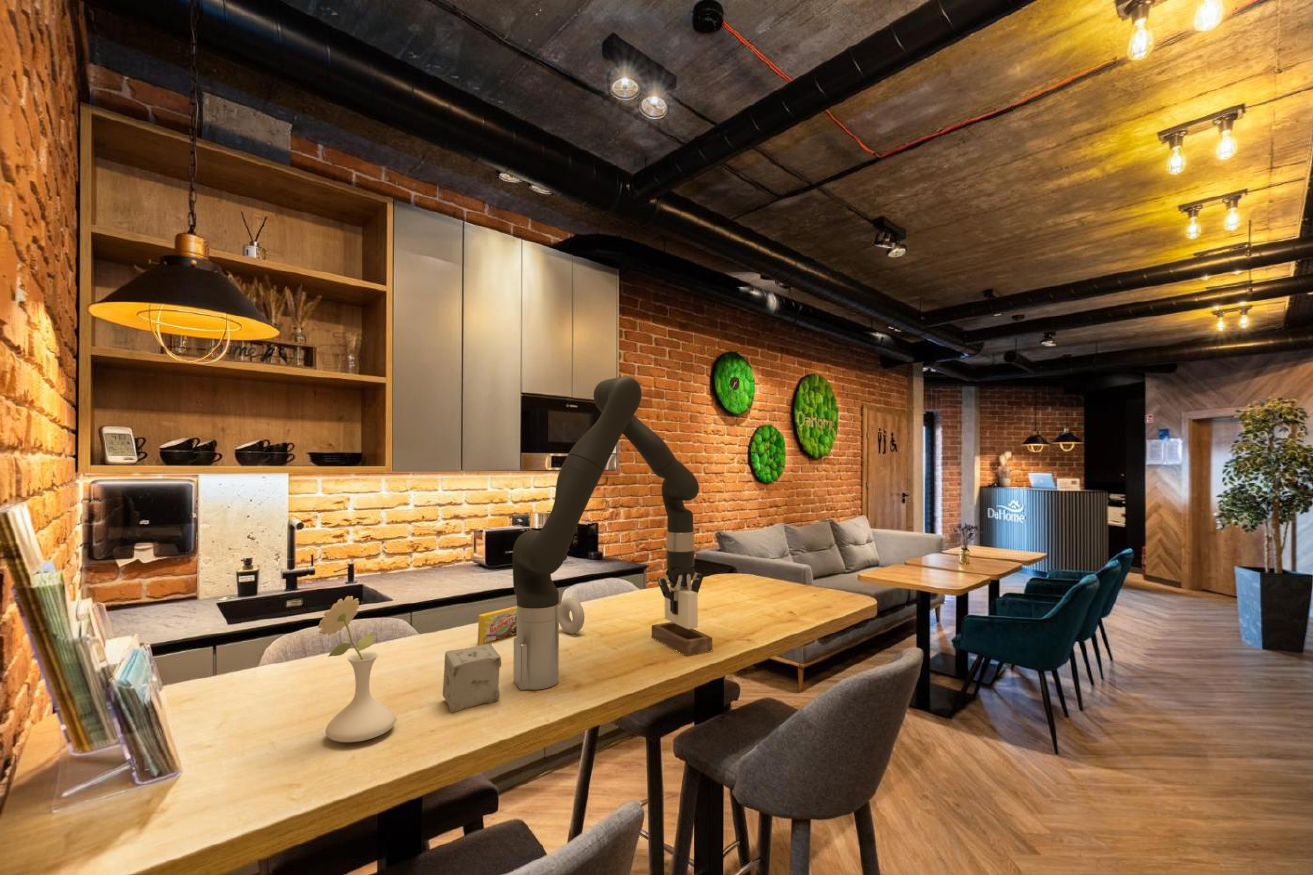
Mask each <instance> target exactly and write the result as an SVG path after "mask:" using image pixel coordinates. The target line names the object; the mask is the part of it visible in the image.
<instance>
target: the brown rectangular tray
mask: <svg viewBox="0 0 1313 875" xmlns="http://www.w3.org/2000/svg"><path fill="white" fill-rule="evenodd" d="M653 638H654V639H653ZM651 639H653V640H655V639H656V640H655V641H657V640H658V641H659V642H658V641H657V642H658V643H660V642H661V643H660V644H662V643H663V644H662V645H664V644H665V645H664V646H666V645H667V646H666V647H667V648H670V649H671V648H672V650H673V649H675V650H677V651H678V652H677V651H676V652H677V653H679V652H680V653H679V654H681V653H682V654H681V655H683V654H684V655H685V656H684V655H683V656H684V657H689V656H688V655H691V656H694V655H693V654H696V655H699V654H698V653H701V654H703V653H702V652H706V651H711V650H712V651H713V637H712V636H710V635H707V634H705V633H704V632H700V631H699V630H696V629H695V628H693V629H686V628H684V627H682V626H679V625H677V624H675V623H673V622H671V621H669V622H663V623H657V624H656V623H655V624H651ZM675 650H674V651H675ZM706 653H707V652H706Z"/></svg>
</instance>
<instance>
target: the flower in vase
mask: <svg viewBox="0 0 1313 875" xmlns="http://www.w3.org/2000/svg"><path fill="white" fill-rule="evenodd" d="M359 604H360V601H359V598H354V596H353V595H351V596H350V595H347V596H346V597H344V600H343V599H342V598H340V599H338V600H337V602H336V603H333V605H332V606H331V608H330V609H329V610H325V612H324V613H323V616H324V617H323V618H322V619H320V621H319V624H318V626H317V628H318V629H320V630H319V632H318V634H321V635H323V636H325V635H327V636H331V635H335V634H336V633H338V632H339V631H341V630H343V629H344V627H346V630H347V633H348V637H349V640H350V642H343V643H340V644H338V645H337V646H335V647H334V648H333V649H332V650H331V652H330V653H329V654H328V655H327V656H328V657H340V656H343V655H344V654H345V653H347V651H349V649H350V648H351V647H352V648H353V649H354V650H355V652H356V653H353V654H351V655H349V656H348V657H347V661H348V662H349V663H350V665H351V666H352V668H353V672H354V673H353V674H354V678H355V679H354V680H355V689H354V696H353V699H352V700H351V701H350V702H349V703H348V704H347V705H346V706H345V707H344V708H343V709H342V710H340V711H339V712H338V713H337V714H336V715H335V716H334V717H333V718H332V719H331V720H330V722H328V724H327V726H326V728H325V735H326V736H327V738H329V739H330V740H332V741H334V742H339V743H357V742H364V741H368V740H371V739H374V738H376V737H379V736H381V735H383V734H385V733H387V732H389V731H390V730H391V729H392V728H393V727H394V725H395V723H396V722H397V717H396V714H395V712H394V711H393V710H391V708H389V707H388V706H386V705H385V704H383V703H381V702H379V701H378V700H376V699H374V697H372V695H371V693H370V678H371V672H372V668H373V665H374V663H375V661H376V659H378V657H379V653H378V652H375V651H363V650H365V649H367V648H369V647H371V646H372V645H373V644H374V641H375V632H374V631H372V632H371V633H369V634H367V635H366V636H364V637H363V638H361V639H359V640H358V642H357V643H356V644H355V643H354V641H353V638H352V634H351V630H350V628H349V624H350V623H351V621H352V620H353V619H354V618H355V616H357V614H358V612H359V611H358V609H359V607H360V605H359ZM356 645H357V646H356ZM360 651H361V652H360ZM362 651H363V652H362Z"/></svg>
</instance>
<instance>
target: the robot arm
mask: <svg viewBox="0 0 1313 875" xmlns="http://www.w3.org/2000/svg"><path fill="white" fill-rule="evenodd" d="M642 394H643V392H642V388H641V385H640V383H639V382H638V381H637V379H636V378H633V377H630V376H620V377H614V378H609V379H604V380H602V381H600V382H598V383H597V384H596V386H595V388H594V391H593V401H594V405H595V406H596V408H597V409H598V410H599V411H600V413H601V414H600V415H599V417H598V419H597V420H596V422H595V423H594V424H593V425H592V426H591V427H590V428H589V429H588V430H587V432H586V433H585V434H584V435H583V436H582V437H580V439H578V441H577V442H576V443H575V444H574V445H573V446H572V447H571V449H570V451H569V452H568V454H567V456H566V458H565V460H564V462H563V464H562V466H561V468H560V470H559V473H558V475H557V478H556V483H555V484H556V485H555V492H554V493H555V494H554V501H553V505H552V508H551V511H550V513H549V515H548V518H547V519H546V521H545V523H544V525H543V526H542V528H541V529H540V530H535V529H532V530H527V531H525V532H524V531H523V533H521V534H520V535H519V536H518V537H517V539H516V540H515V542H514V545H513V549H512V582H513V583H512V584H513V585H512V586H513V591H514V593H515V597H516V606H517V637H513V665H512V666H513V668H512V669H513V672H512V675H513V683H514V684H515V685H516V687H517V688H518V689H519V690H520V691H524V690H535V691H536V690H537V691H538V690H543V689H544V690H545V689H547V688H551V687H554V686H556V685H557V684H559V677H560V676H559V675H560V674H559V673H560V669H559V666H560V665H559V662H560V661H559V660H560V655H559V653H560V650H559V649H560V647H559V646H560V632H559V631H560V624H559V606H560V593H559V590H558V588H557V587H556V585H555V584H554V581H553V580H552V575H551V574H554V573H556V571H558V570H559V568H561V566H562V565H563V563H564V562H565V560H566V556H567V554H568V551H569V549H570V546H571V544H572V540H573V539H574V535H575V533H576V530H577V528H578V525H579V522H580V520H581V519H582V516H583V514H584V512H585V510H586V508H587V506H588V504H589V501H590V499H591V497H592V495H593V493H594V492H595V489H596V487H597V486H598V484H599V481H600V479H601V477H602V475H603V474H604V472H605V468H606V467H607V464H608V462H609V461H610V458H611V457H612V454H613V453H614V451H615V449H616V446H617V444H618V442H619V440H620V438H621V437H622V435H623V436H624V437H625V438H626V439H627V440H628V441H629V442H630V444H632V446H633V448H635V449H636V450H637V452H638V453H639V454H640V455H641V457H642V458H643V460H644V461H645V463H646V464H647V466H648V467H649V468H650V470H651V471H652V472H653V473H654V475H655V476H656V477H658V478H661V479H663V481H662V482H661V483H662V484H661V496H662V500H663V505H664V509H665V512H666V516H667V520H666V522H667V526H666V527H667V528H666V529H667V532H666V533H667V535H666V572H665V574H664V575H662V576H658V577H657V578H656V581H657V584H658V585H659V588H660V590H661V593H662V596H663V598H664V599H665V598H668V599H670V611H671V612H672V614H674V615H678V601H677V600H678V592H679V591H680V587H682V588H684V589H687V590H691V591H694V592H697V593H698V594H699V591H700V589H701V585H702V583H703V580H704V574H702V573H698V572H696V570H695V568H694V567H695V534H694V513H693V512H692V511H691V510H690V509H689V508H686V507H685V503H684V501H686V502H687V501H692V500H695V499H696V497H697V496H698V494H699V493H700V492H699V491H700V485H699V482H698V479H697V477H696V476H695V475H694V474H693V472H692V471H691V470H689V468H688V467H687V466H685V465H684V464H683V463H682V462H681V461H679V460H678V459H677V458H676V457H675V455H674V453H673V452H672V450H671V449H670V448H669V446H668V444H667V443H666V441H665V440H663V439H662V438H661V437H660V435H658V434H657V433H656V432H655V431H653V430H652V429H651V428H650V427H649V426H647V425H646V424H645V423H644V422H643V421H641V420H640V419H639V418H638V417H637V416H636V412H637V411H638V409H639V407H640V404H641V402H642V401H641V400H642ZM669 582H670V583H669ZM668 585H670V590H669V588H668Z"/></svg>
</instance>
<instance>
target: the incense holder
mask: <svg viewBox="0 0 1313 875" xmlns="http://www.w3.org/2000/svg"><path fill="white" fill-rule="evenodd" d="M443 666H444V668H443V670H444V671H443V685H442V697H443V698H444V700H445V701H446V704H447V706H448V708H449V711H450V713H451V714H452V713H455V712H456V713H457V712H460V711H462V710H463V709H467V708H471V707H475V706H477V705H478V706H479V705H481V704H487V703H488V704H492V703H494V702H497V701H498V700H499V699H500V688H499V684H500V682H499V681H500V668H501V667H502V657H501V655H500V653H498V652H497V650H496V649H495V647H494V646H493V645H492V644H487V645H481V646H477V645H476V646H471V647H466V648H459V649H452V650H451V649H450V650H447V651H445V653H444V664H443Z"/></svg>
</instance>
